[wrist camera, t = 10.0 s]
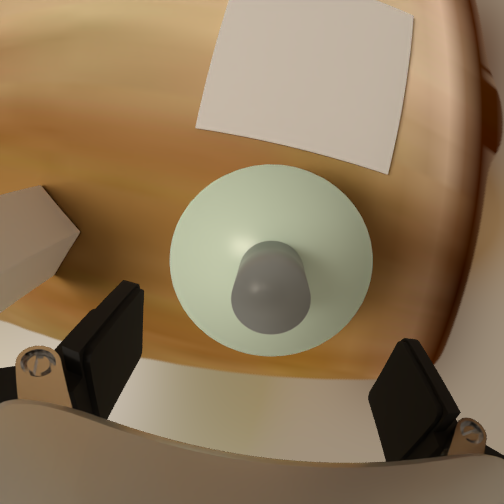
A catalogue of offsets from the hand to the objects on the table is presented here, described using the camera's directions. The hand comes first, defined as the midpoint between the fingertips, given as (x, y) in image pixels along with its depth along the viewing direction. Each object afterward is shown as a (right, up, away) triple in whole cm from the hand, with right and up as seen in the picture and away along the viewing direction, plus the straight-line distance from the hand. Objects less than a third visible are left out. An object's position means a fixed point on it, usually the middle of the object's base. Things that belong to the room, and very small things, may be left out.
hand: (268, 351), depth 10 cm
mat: (+4, +19, +11) cm, 22 cm away
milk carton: (-22, +6, +17) cm, 28 cm away
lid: (+1, +2, +10) cm, 10 cm away
